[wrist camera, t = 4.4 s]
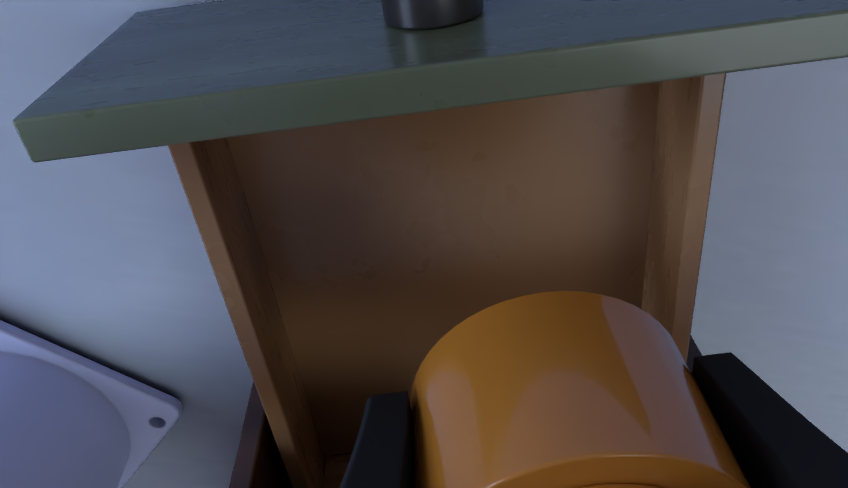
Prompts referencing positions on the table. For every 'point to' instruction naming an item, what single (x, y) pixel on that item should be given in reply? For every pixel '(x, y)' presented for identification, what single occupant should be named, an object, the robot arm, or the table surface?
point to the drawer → (423, 166)
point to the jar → (564, 402)
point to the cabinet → (259, 455)
